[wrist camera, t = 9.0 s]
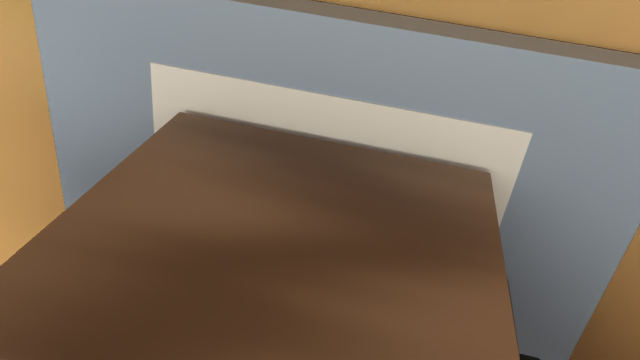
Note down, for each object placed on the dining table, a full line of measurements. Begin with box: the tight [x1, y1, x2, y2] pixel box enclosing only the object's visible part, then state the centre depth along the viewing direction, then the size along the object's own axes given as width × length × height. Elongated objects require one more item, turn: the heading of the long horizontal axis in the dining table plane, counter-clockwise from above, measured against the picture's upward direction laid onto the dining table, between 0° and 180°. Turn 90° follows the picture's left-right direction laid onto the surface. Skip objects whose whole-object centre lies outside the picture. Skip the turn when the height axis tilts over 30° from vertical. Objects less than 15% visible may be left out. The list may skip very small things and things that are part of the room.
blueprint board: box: [31, 0, 640, 360], centre depth 12 cm, size 12×10×1 cm
